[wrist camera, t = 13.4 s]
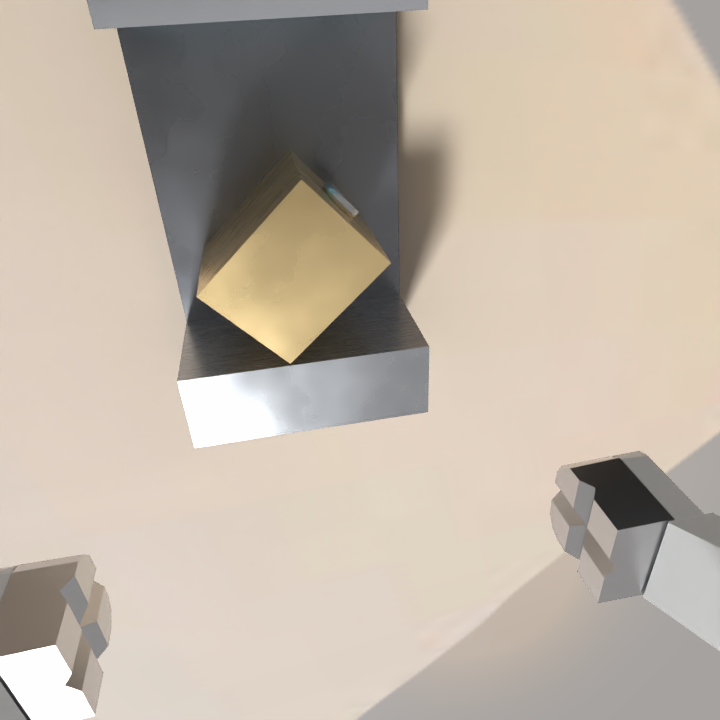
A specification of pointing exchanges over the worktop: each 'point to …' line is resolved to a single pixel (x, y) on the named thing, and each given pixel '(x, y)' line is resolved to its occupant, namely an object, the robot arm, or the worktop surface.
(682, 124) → the worktop surface
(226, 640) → the worktop surface
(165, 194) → the press bed
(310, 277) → the tan short block
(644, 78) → the worktop surface
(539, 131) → the worktop surface
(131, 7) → the block
